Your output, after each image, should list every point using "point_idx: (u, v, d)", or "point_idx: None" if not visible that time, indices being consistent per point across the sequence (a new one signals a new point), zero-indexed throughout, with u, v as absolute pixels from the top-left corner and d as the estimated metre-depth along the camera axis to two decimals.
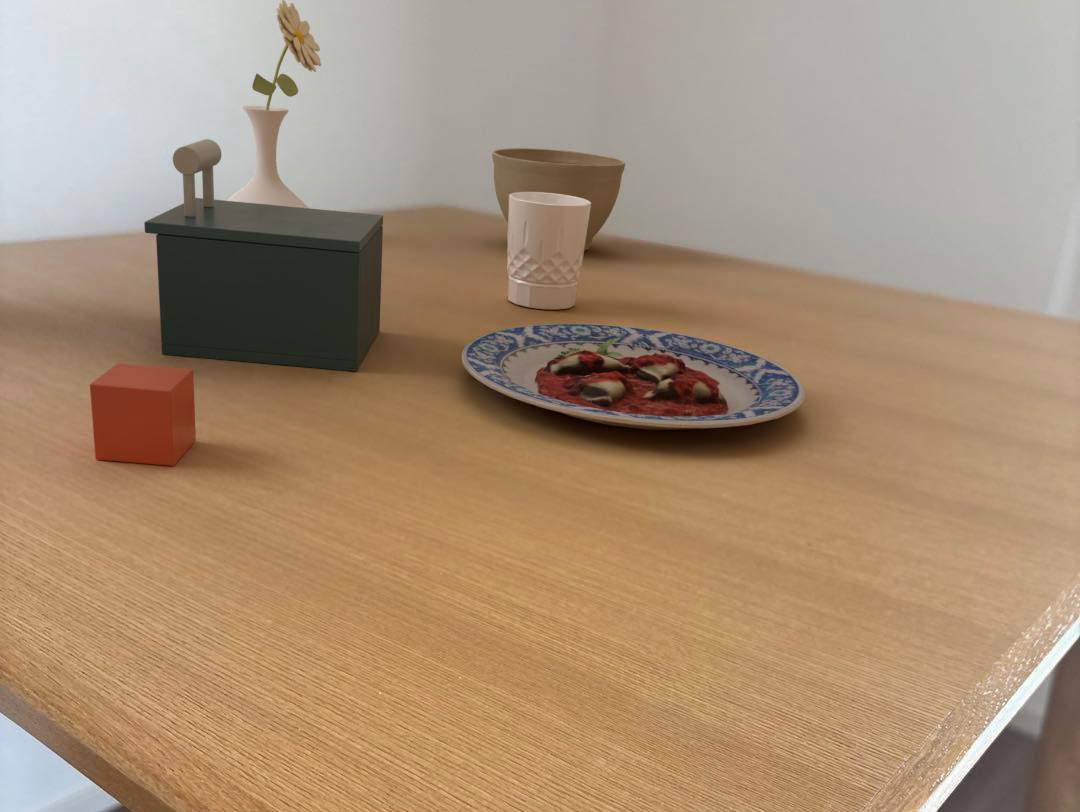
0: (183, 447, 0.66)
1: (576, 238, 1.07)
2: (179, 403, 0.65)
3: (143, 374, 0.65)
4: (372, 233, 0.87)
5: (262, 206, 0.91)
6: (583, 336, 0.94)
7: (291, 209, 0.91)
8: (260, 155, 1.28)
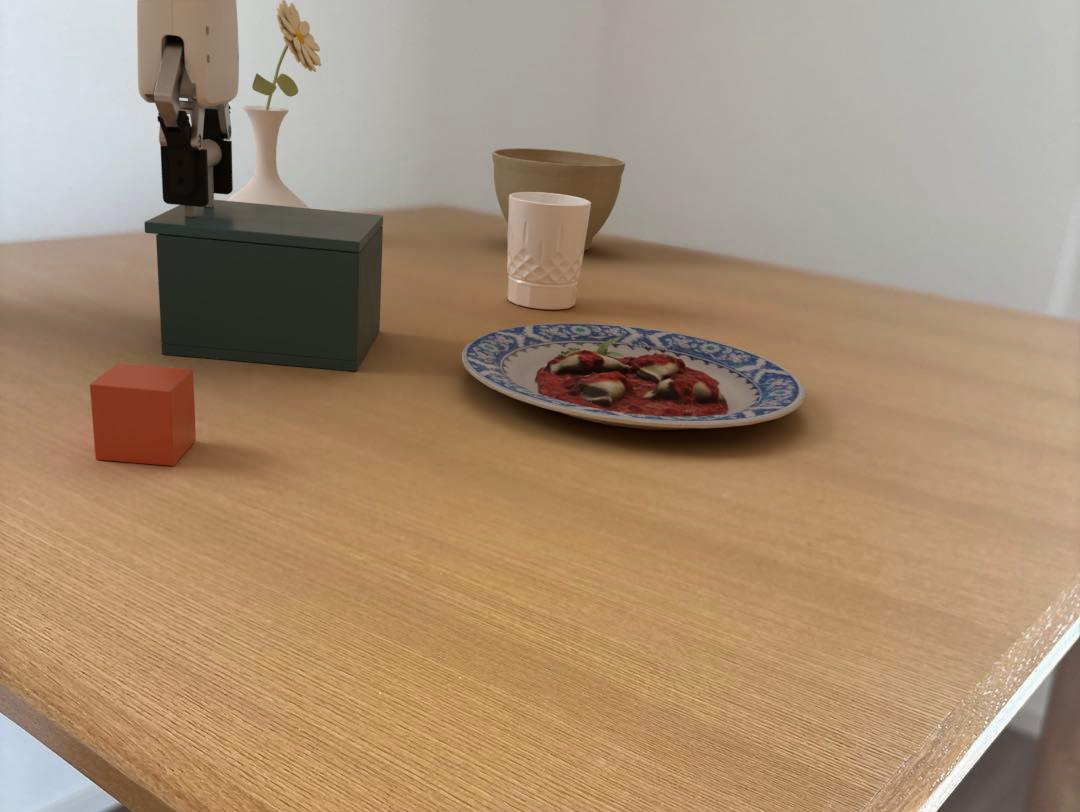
0: (183, 447, 0.66)
1: (576, 238, 1.07)
2: (179, 403, 0.65)
3: (143, 374, 0.65)
4: (372, 233, 0.87)
5: (262, 206, 0.91)
6: (583, 336, 0.94)
7: (291, 209, 0.91)
8: (260, 155, 1.28)
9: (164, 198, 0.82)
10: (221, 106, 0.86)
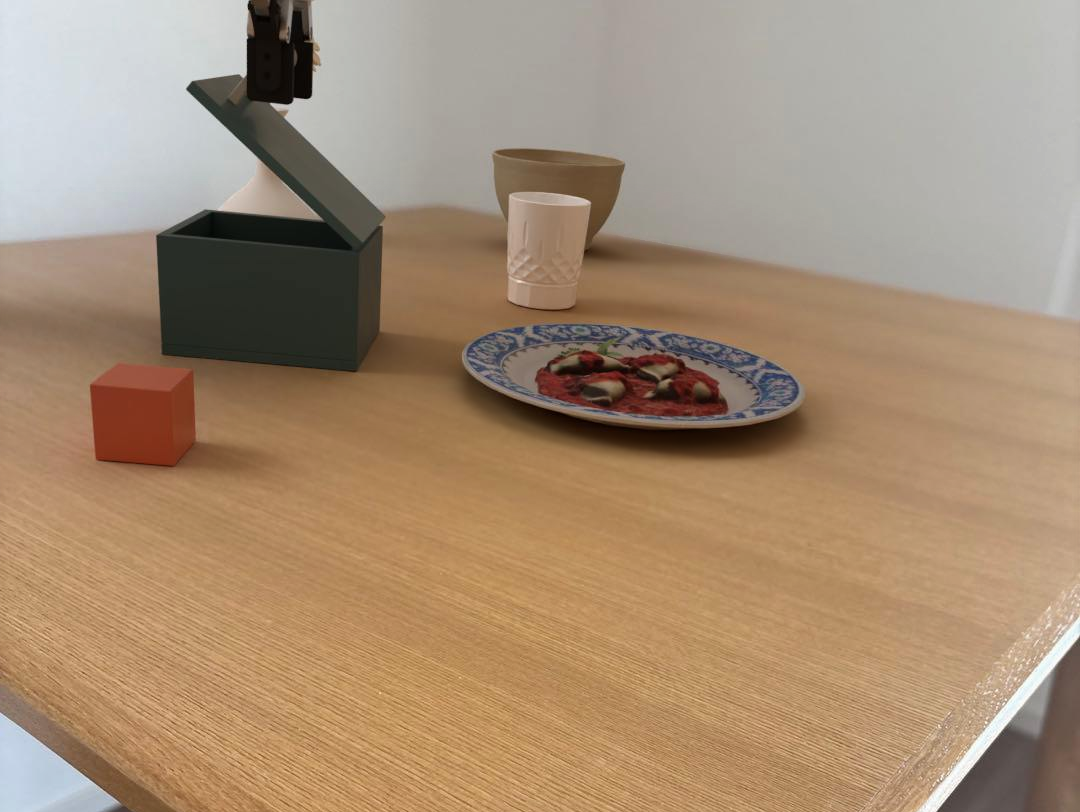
0: (183, 447, 0.66)
1: (576, 238, 1.07)
2: (179, 403, 0.65)
3: (143, 374, 0.65)
4: None
5: (292, 130, 0.89)
6: (583, 336, 0.94)
7: (315, 153, 0.89)
8: None
9: (248, 94, 0.79)
10: (305, 4, 0.83)
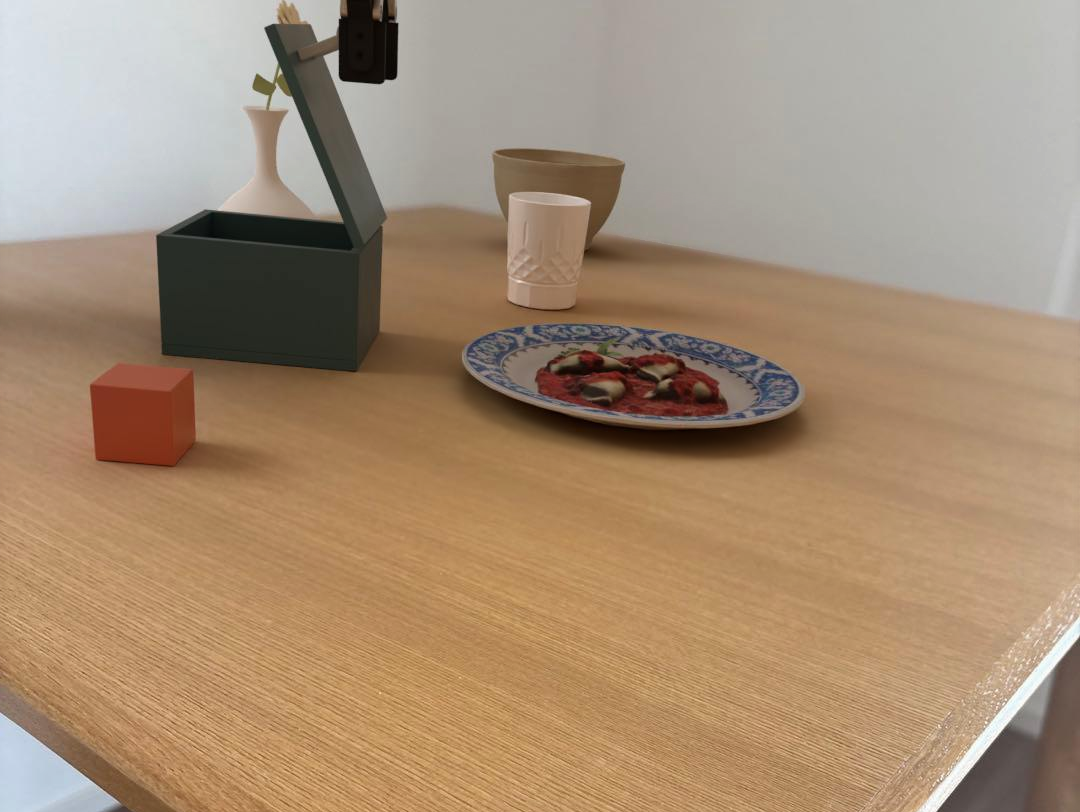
0: (183, 447, 0.66)
1: (576, 238, 1.07)
2: (179, 403, 0.65)
3: (143, 374, 0.65)
4: None
5: (338, 101, 0.88)
6: (583, 336, 0.94)
7: (350, 131, 0.89)
8: (260, 155, 1.28)
9: (340, 75, 0.79)
10: None
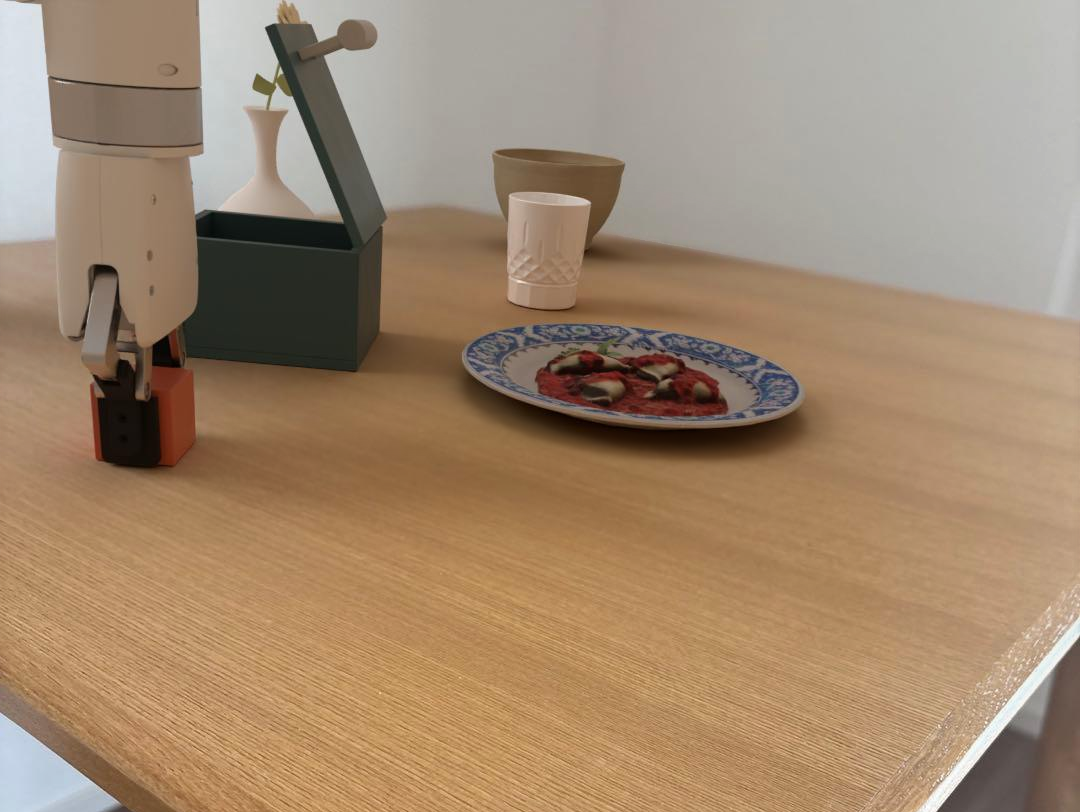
0: (183, 447, 0.66)
1: (576, 238, 1.07)
2: (179, 403, 0.65)
3: None
4: None
5: (338, 101, 0.88)
6: (583, 336, 0.94)
7: (350, 131, 0.89)
8: (260, 155, 1.28)
9: (103, 456, 0.64)
10: None
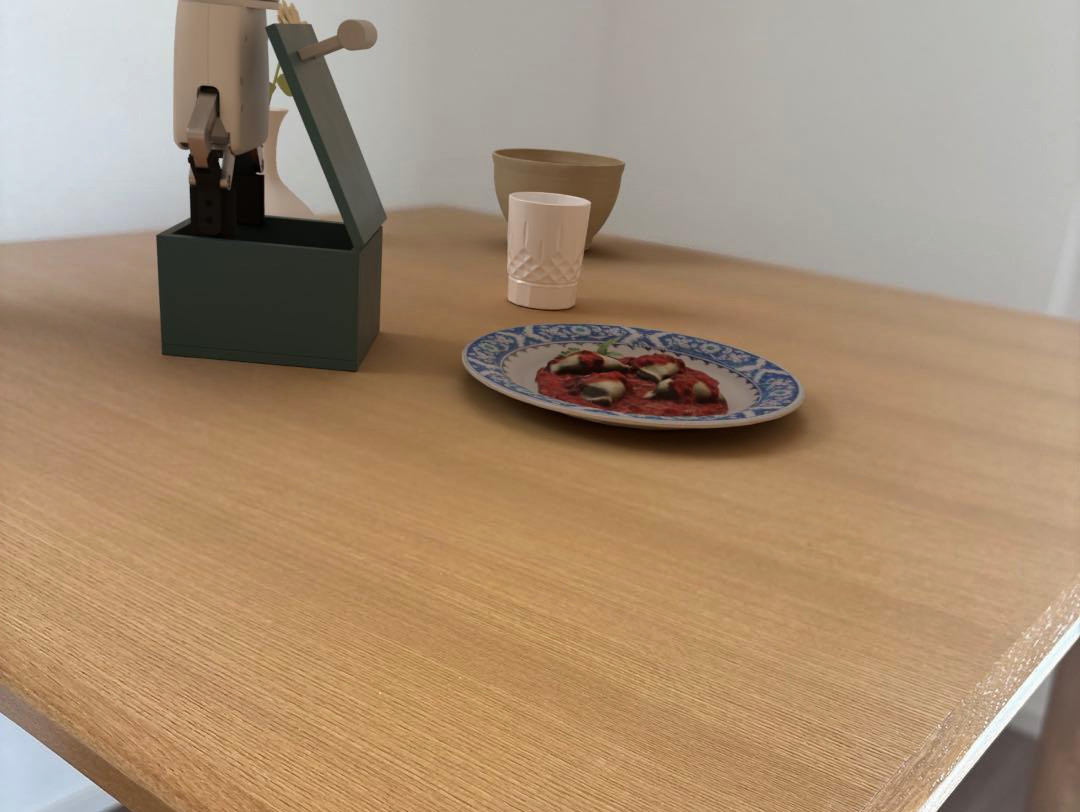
0: None
1: (576, 238, 1.07)
2: None
3: None
4: None
5: (338, 101, 0.88)
6: (583, 336, 0.94)
7: (350, 131, 0.89)
8: None
9: None
10: None
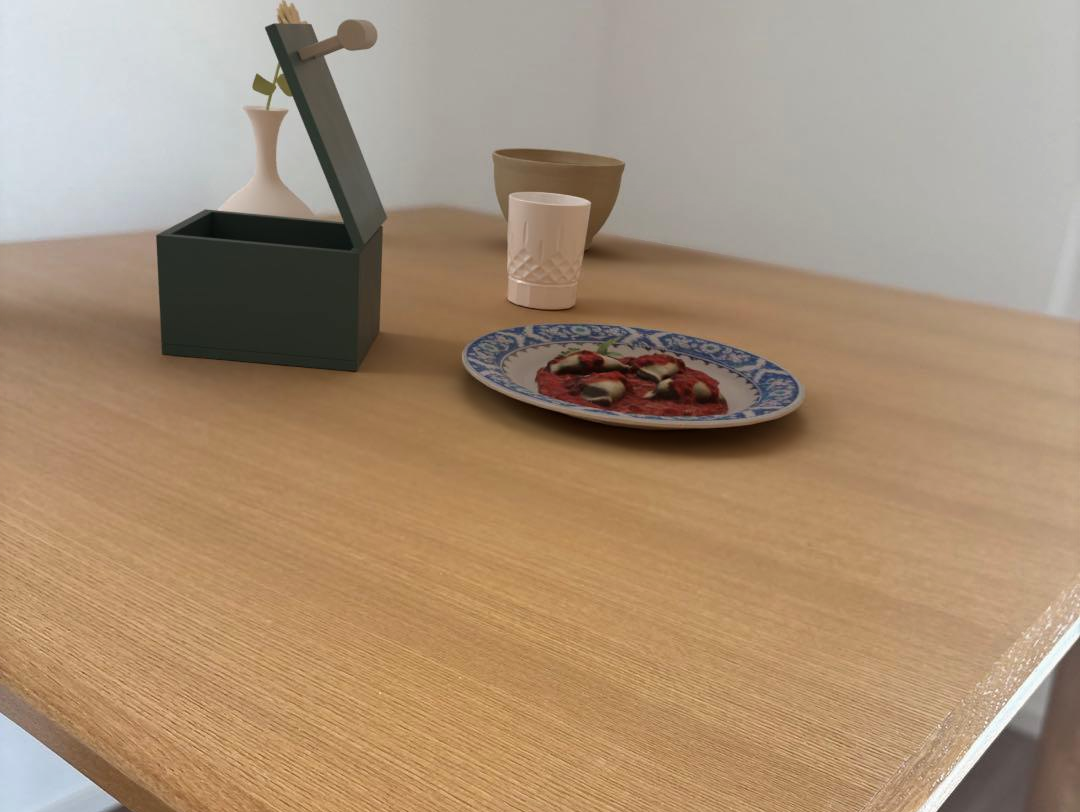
0: None
1: (576, 238, 1.07)
2: None
3: None
4: None
5: (338, 101, 0.88)
6: (583, 336, 0.94)
7: (350, 131, 0.89)
8: (260, 155, 1.28)
9: None
10: None
